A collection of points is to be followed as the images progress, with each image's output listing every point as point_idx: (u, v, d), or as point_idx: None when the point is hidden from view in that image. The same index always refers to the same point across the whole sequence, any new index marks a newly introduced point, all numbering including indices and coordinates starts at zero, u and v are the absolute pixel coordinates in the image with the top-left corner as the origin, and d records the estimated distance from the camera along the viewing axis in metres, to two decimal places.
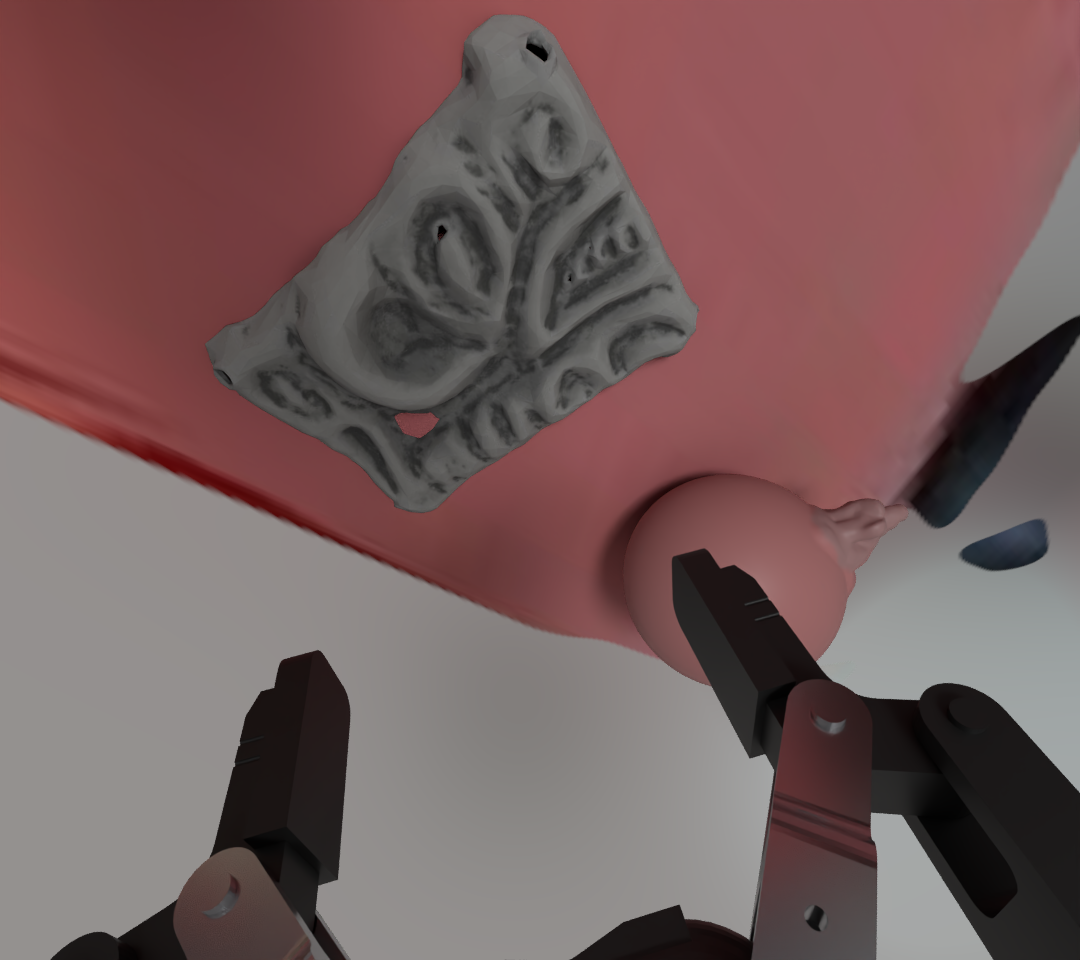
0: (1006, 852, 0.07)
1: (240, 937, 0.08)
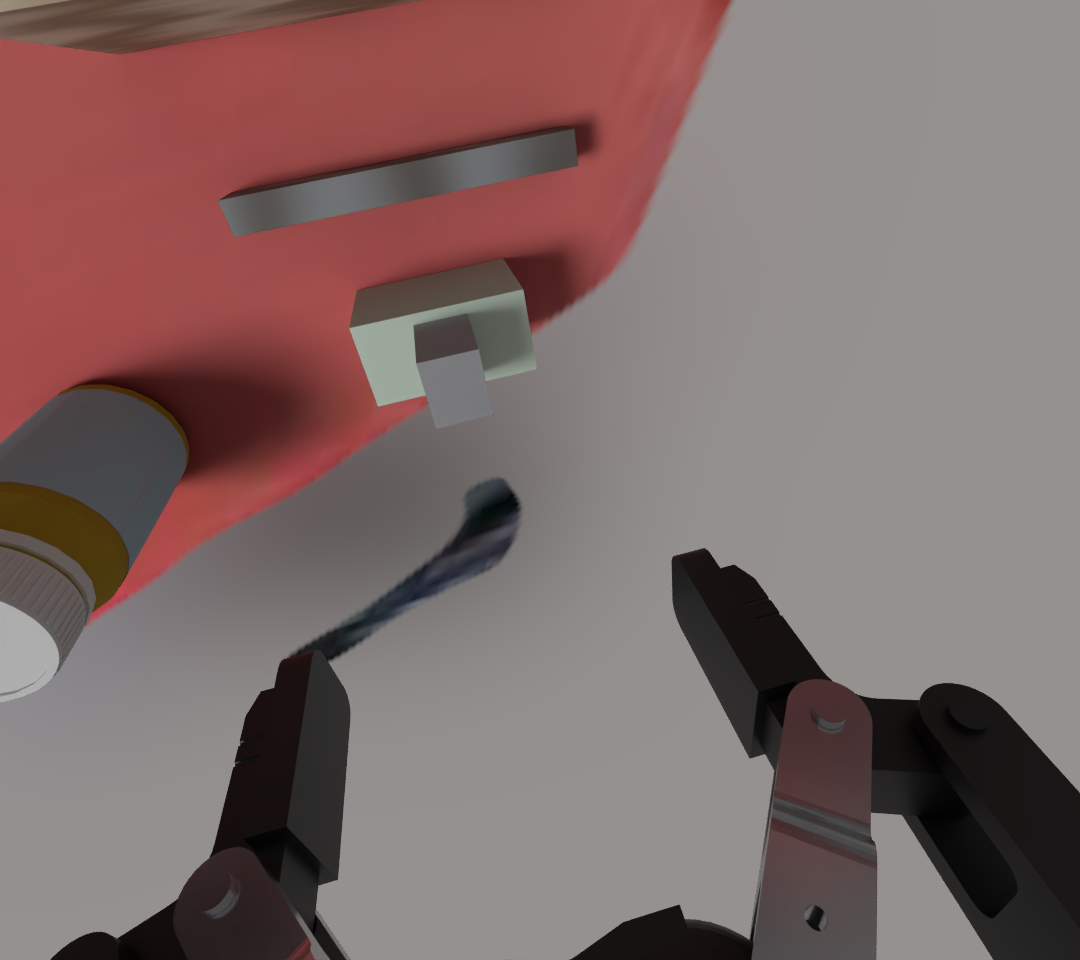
0: (1006, 852, 0.07)
1: (240, 937, 0.08)
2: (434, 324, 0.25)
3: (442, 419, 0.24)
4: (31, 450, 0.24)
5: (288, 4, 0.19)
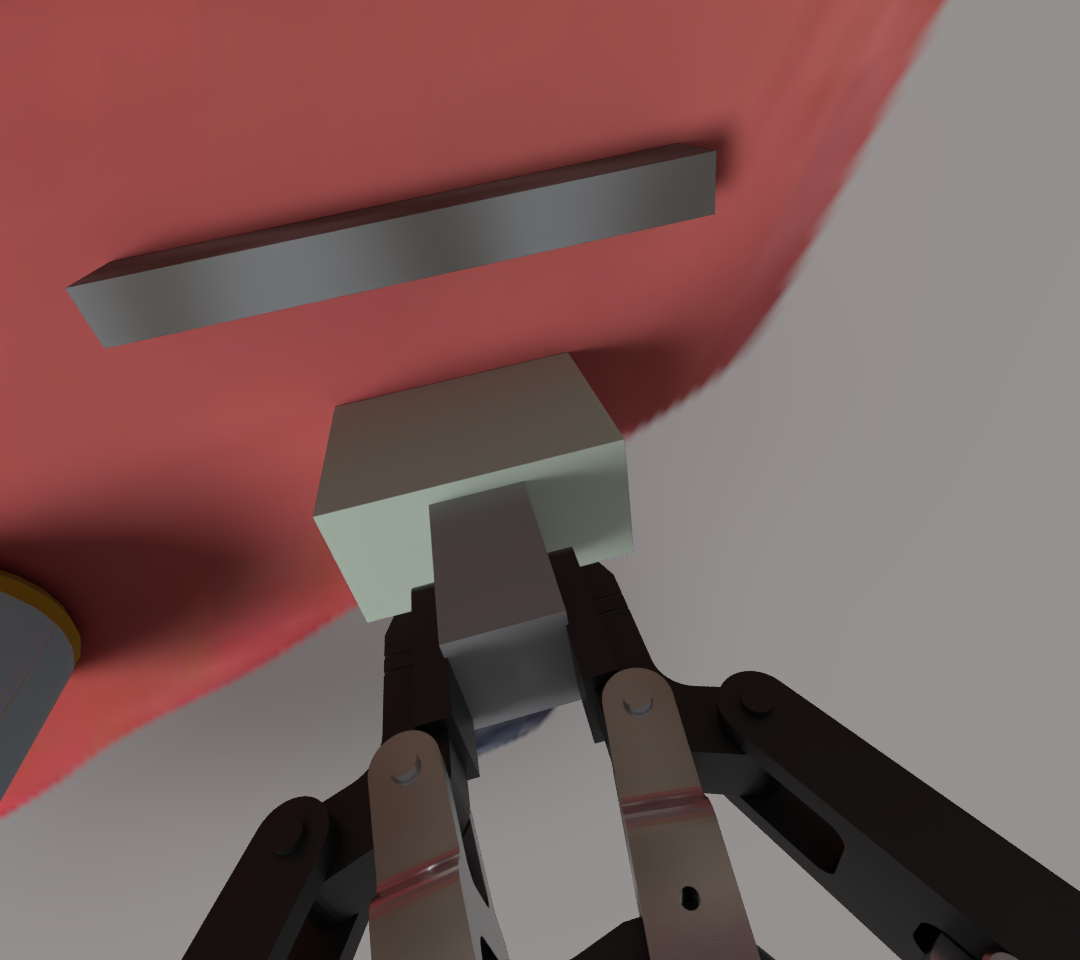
0: (826, 816, 0.08)
1: (434, 797, 0.09)
2: (467, 507, 0.14)
3: (486, 716, 0.12)
4: None
5: None
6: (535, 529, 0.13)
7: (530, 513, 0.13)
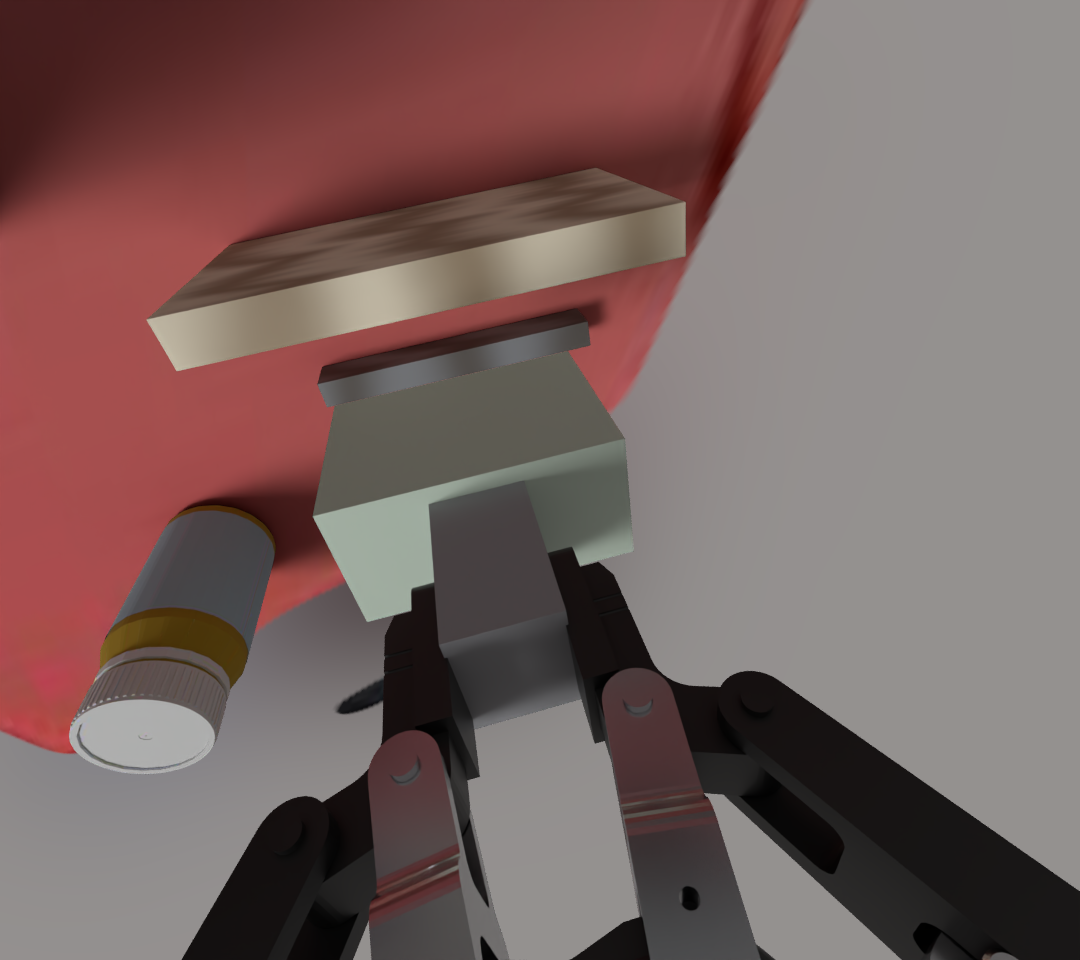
0: (826, 816, 0.08)
1: (434, 798, 0.09)
2: (467, 507, 0.14)
3: (486, 715, 0.12)
4: (178, 575, 0.32)
5: None
6: (535, 528, 0.13)
7: (530, 512, 0.13)
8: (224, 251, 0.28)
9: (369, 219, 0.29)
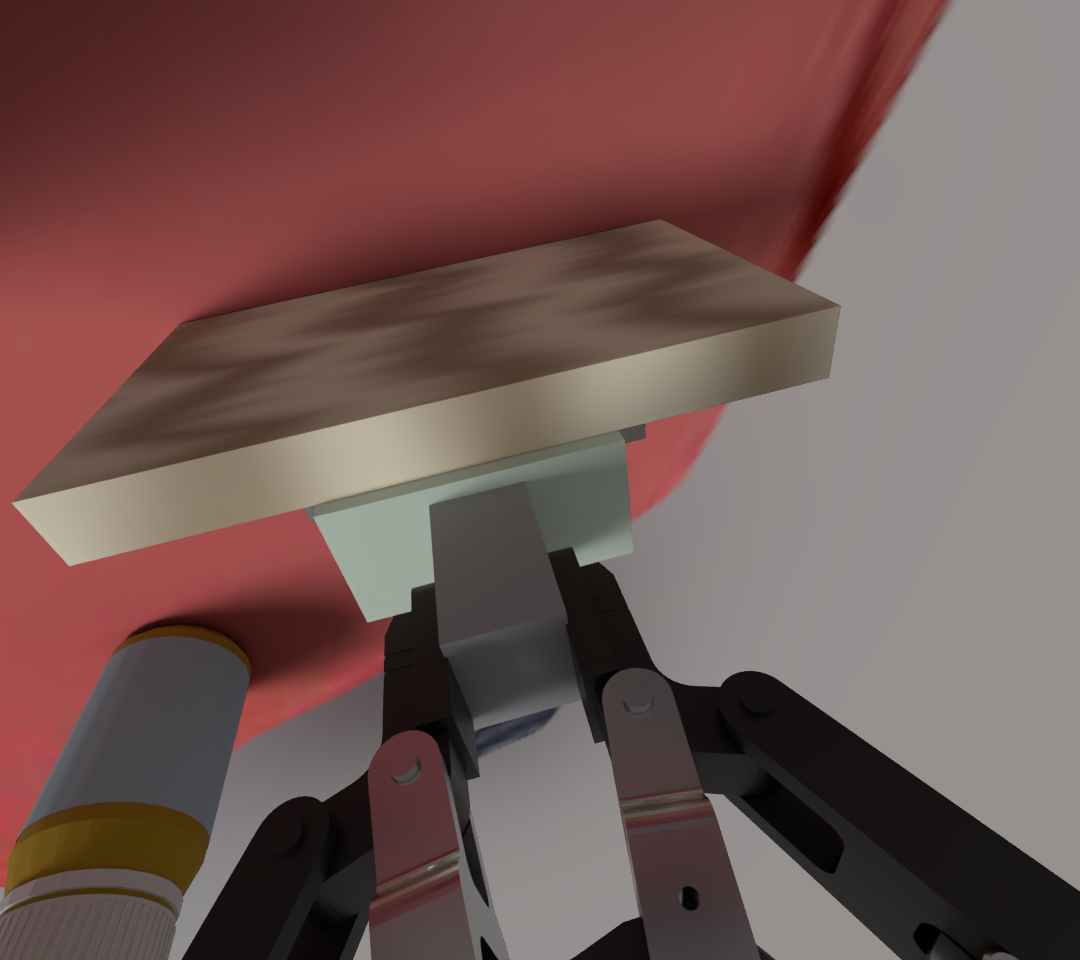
0: (826, 816, 0.08)
1: (435, 797, 0.09)
2: (467, 508, 0.14)
3: (487, 716, 0.12)
4: (117, 746, 0.24)
5: None
6: (535, 530, 0.13)
7: (530, 514, 0.13)
8: (169, 337, 0.21)
9: (365, 292, 0.22)
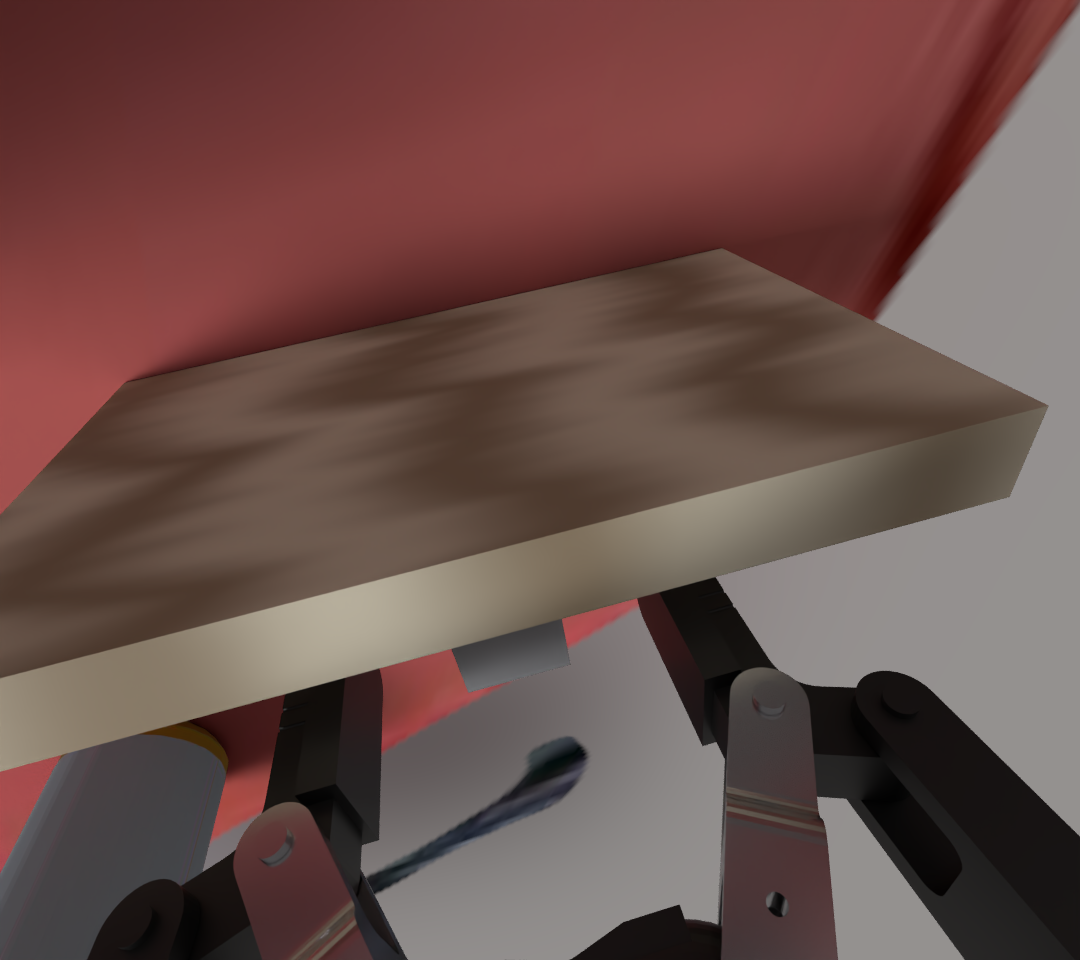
0: (949, 832, 0.08)
1: (299, 883, 0.08)
2: None
3: (480, 679, 0.13)
4: (54, 893, 0.20)
5: None
6: None
7: None
8: (107, 404, 0.16)
9: (356, 344, 0.17)
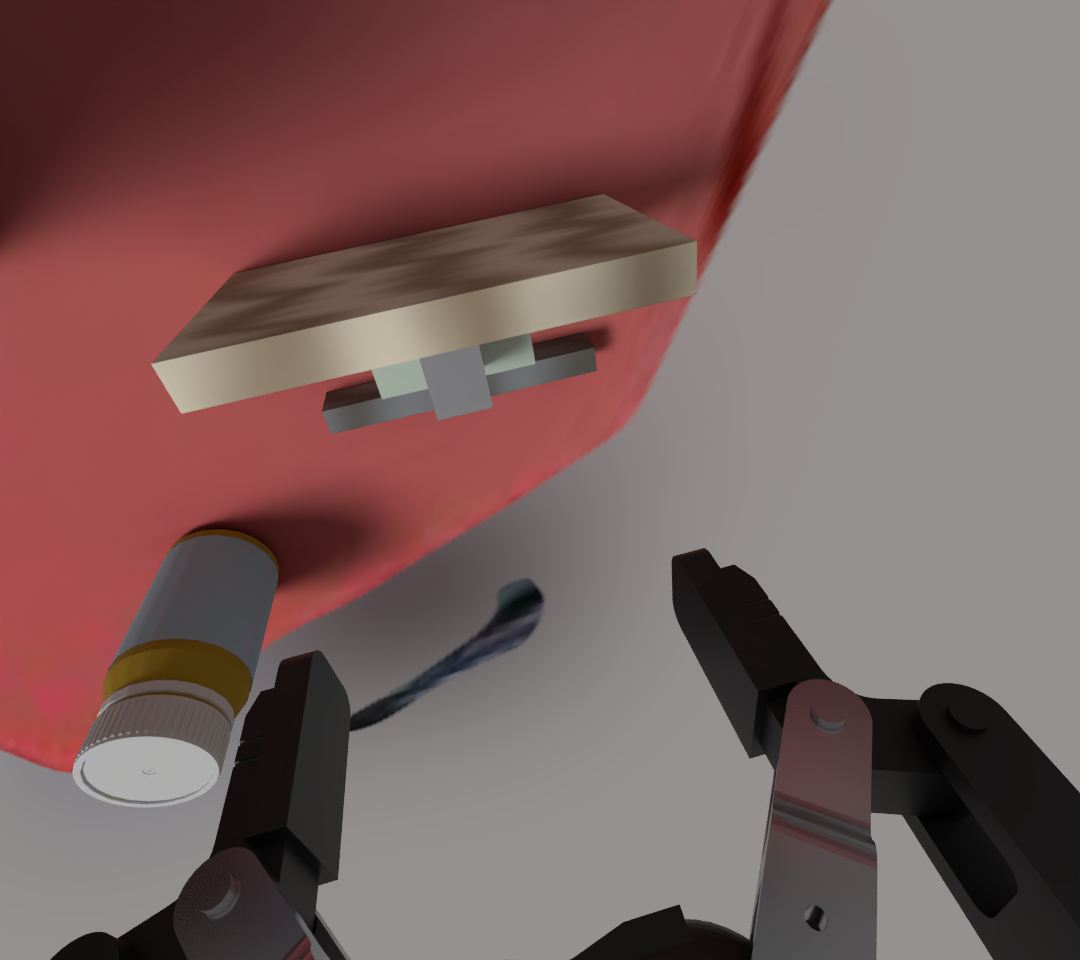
0: (1006, 852, 0.07)
1: (240, 937, 0.08)
2: None
3: (443, 411, 0.25)
4: (182, 604, 0.31)
5: None
6: None
7: None
8: (228, 281, 0.28)
9: (374, 248, 0.29)
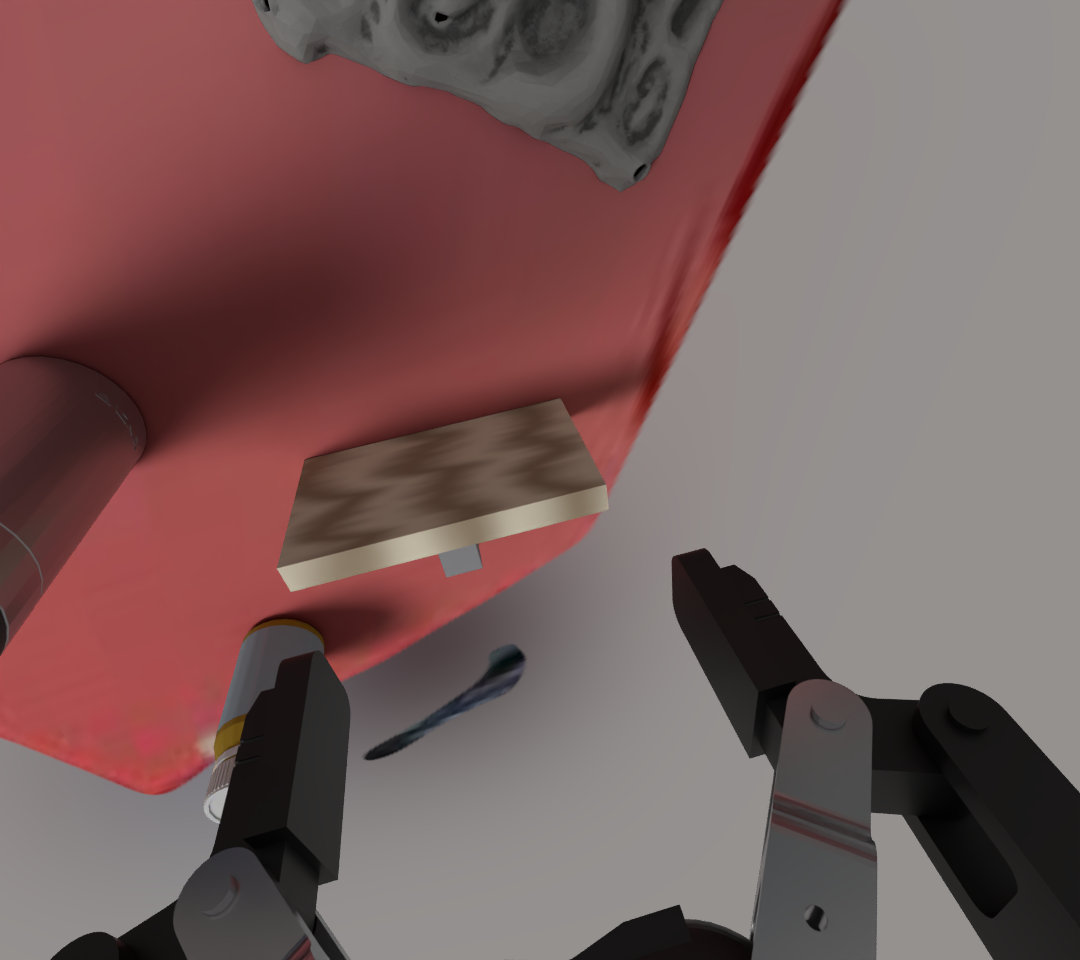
0: (1006, 852, 0.07)
1: (240, 937, 0.08)
2: None
3: (450, 572, 0.38)
4: (265, 683, 0.45)
5: None
6: None
7: None
8: (303, 471, 0.41)
9: (402, 444, 0.42)
